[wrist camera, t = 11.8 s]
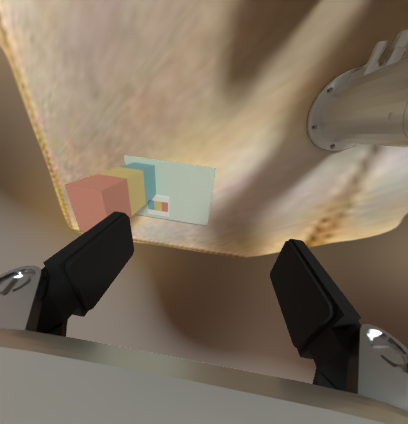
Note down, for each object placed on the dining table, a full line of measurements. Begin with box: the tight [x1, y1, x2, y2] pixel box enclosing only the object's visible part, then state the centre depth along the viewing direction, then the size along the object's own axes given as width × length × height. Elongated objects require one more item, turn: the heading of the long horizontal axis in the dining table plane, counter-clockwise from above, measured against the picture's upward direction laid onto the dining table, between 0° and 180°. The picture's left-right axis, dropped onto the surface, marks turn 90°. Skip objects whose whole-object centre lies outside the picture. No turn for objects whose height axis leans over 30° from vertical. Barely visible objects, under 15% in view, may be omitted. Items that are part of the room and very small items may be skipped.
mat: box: [124, 155, 216, 226], centre depth 38 cm, size 16×22×1 cm
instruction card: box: [147, 195, 169, 217], centre depth 40 cm, size 6×6×1 cm
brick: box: [65, 174, 132, 232], centre depth 24 cm, size 8×5×6 cm, turn 173°
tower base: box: [99, 162, 156, 216], centre depth 32 cm, size 8×5×12 cm, turn 173°
